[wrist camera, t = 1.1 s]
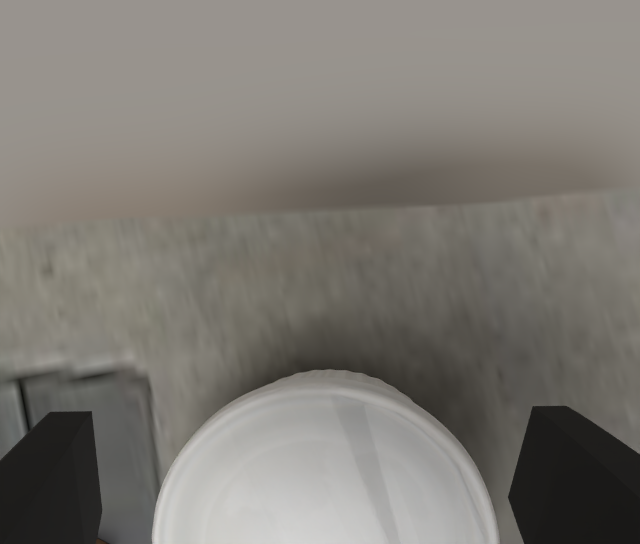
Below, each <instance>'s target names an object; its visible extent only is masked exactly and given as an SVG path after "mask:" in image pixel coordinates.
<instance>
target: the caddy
mask: <svg viewBox="0 0 640 544" xmlns="http://www.w3.org/2000/svg"><path fill="white" fill-rule="evenodd" d="M96 544H107V543H105V542H103V541H101V540H99V539H97V540H96Z"/></svg>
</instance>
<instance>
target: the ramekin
mask: <svg viewBox="0 0 640 544" xmlns="http://www.w3.org/2000/svg"><path fill="white" fill-rule="evenodd" d="M152 544H500V537H499V530H498V524H497V520H496V516H495V512H494V508H493V505H492V502H491V499H490V496H489V493H488V490H487V488H486V486H485V483H484V481H483V479H482V476H481V474H480V472H479V470H478V468H477V466H476V465H475V463H474V461H473V460H472V458H471V457H470V455H469V454H468V452H467V451H466V450H465V448H464V447H463V446H462V444H461V443H460V442H459V441H458V440H457V439H456V437H455V436H454V435H453V434H452V433H451V432H450V431H449V430H448V429H447V428H446V427H445V426H443V425H442V424H441V423H440V422H439V421H438V420H437V419H436V418H435V417H433V416H432V415H431V414H429V413H428V412H427V411H425V410H424V409H422V408H421V407H420V406H418V405H417V404H415V403H414V402H413V401H412V400H411V399H410V398H409V397H408V396H406V395H405V394H403V393H401V392H399V391H398V390H397V389H396V388H395V387H393V386H391V385H388V384H386V383H385V382H383V381H382V380H380V379H378V378H373V377H369V376H367V375H366V374H363V373H354V372H351V371H348V370H332V369H328V370H312V371H308V372H302V373H296V374H294V375H292V376H289V377H284V378H281V379H279V380H277V381H275V382H274V383H270V384H267V385H265V386H264V387H261V388H258V389H256V390H253V391H251V392H249V393H247V394H244V395H243V396H241V397H239V398H237V399H235V400H233V401H232V402H230V403H229V404H227V405H226V406H224V407H223V408H221V409H220V410H219V411H218V412H216V413H215V414H214V415H213V416H211V417H210V418H209V419H208V420H207V421H206V422H205V423H204V424H203V425H202V426H201V427H200V428H199V429H198V430H197V431H196V432H195V433H194V434H193V435H192V437H191V438H190V439H189V440H188V442H187V443H186V444H185V446H184V447H183V448H182V450H181V451H180V453H179V454H178V455H177V457H176V459H175V461H174V462H173V464H172V466H171V467H170V470H169V472H168V474H167V476H166V478H165V480H164V482H163V485H162V488H161V491H160V493H159V497H158V500H157V504H156V509H155V516H154V523H153V530H152Z"/></svg>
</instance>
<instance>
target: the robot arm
mask: <svg viewBox="0 0 640 544" xmlns="http://www.w3.org/2000/svg"><path fill="white" fill-rule="evenodd" d="M508 499H509V502H510V504H511V507H512V510H513V513H514V516H515V519H516V522H517V525H518V528H519V531H520V533H521V536H522V539H523V541H524V544H640V454H638V453H637V452H636V451H634V450H633V449H631V448H630V447H628V446H627V445H625V444H624V443H622V442H621V441H620V440H618V439H617V438H615V437H614V436H612V435H611V434H609V433H608V432H606V431H605V430H603V429H602V428H600V427H599V426H597V425H596V424H594V423H593V422H591V421H590V420H588V419H587V418H585V417H584V416H582V415H581V414H579V413H577V412H576V411H574V410H572V409H571V408H569V407H567V406H533V407H532V411H531V415H530V418H529V422H528V426H527V429H526V433H525V437H524V440H523V444H522V448H521V451H520V455H519V459H518V462H517V466H516V470H515V474H514V477H513V481H512V485H511V488H510V492H509V496H508ZM101 514H102V504H101V494H100V485H99V476H98V466H97V457H96V448H95V439H94V429H93V420H92V411H85V412H50V413H48V414H47V415H46V416H45V417H44V418H43V419H42V420H41V421H40V422H39V423H38V424H37V425H36V426H35V427H33V428H32V429H31V430H30V431H29V432H28V433H27V434H26V435H25V436H24V437H23V438H22V439H21V440H20V441H19V442H18V443H17V444H16V445H15V446H14V447H13V448H12V449H11V450H10V451H9V452H8V453H7V454H6V455H5V456H4V457H3V458H2V459H1V460H0V544H96V540H97V535H98V530H99V525H100V520H101Z"/></svg>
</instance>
